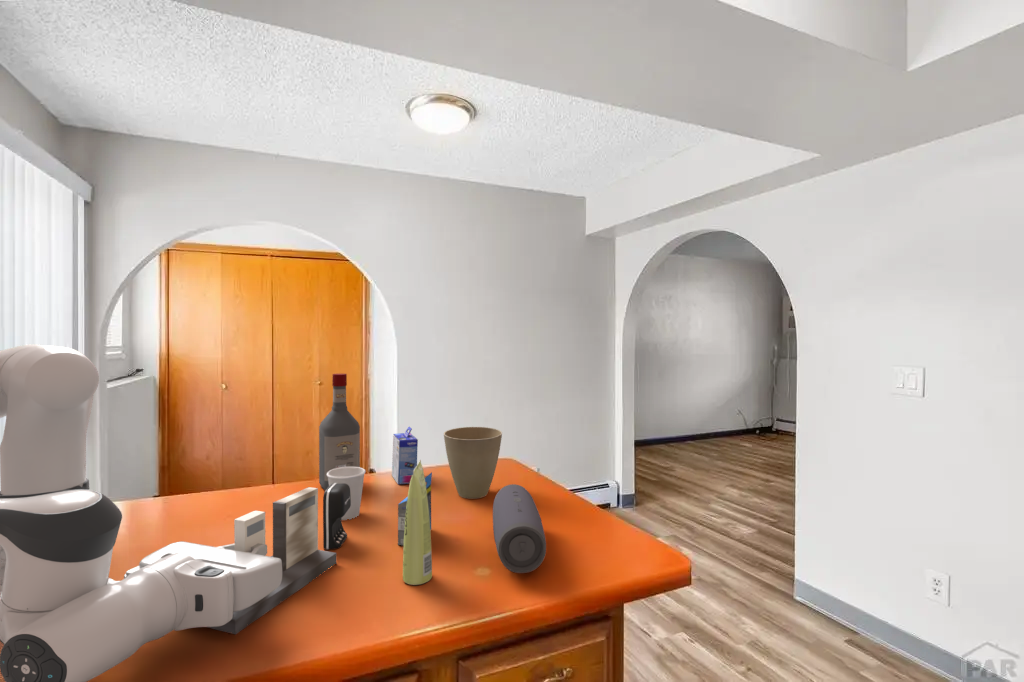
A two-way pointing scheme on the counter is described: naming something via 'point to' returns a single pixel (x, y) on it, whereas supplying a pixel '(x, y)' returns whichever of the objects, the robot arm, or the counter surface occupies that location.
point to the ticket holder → (289, 554)
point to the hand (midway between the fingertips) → (254, 547)
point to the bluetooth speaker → (518, 530)
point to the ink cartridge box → (404, 456)
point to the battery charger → (335, 514)
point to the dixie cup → (355, 482)
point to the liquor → (338, 434)
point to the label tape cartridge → (402, 511)
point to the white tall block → (249, 531)
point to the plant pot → (472, 458)
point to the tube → (417, 532)
